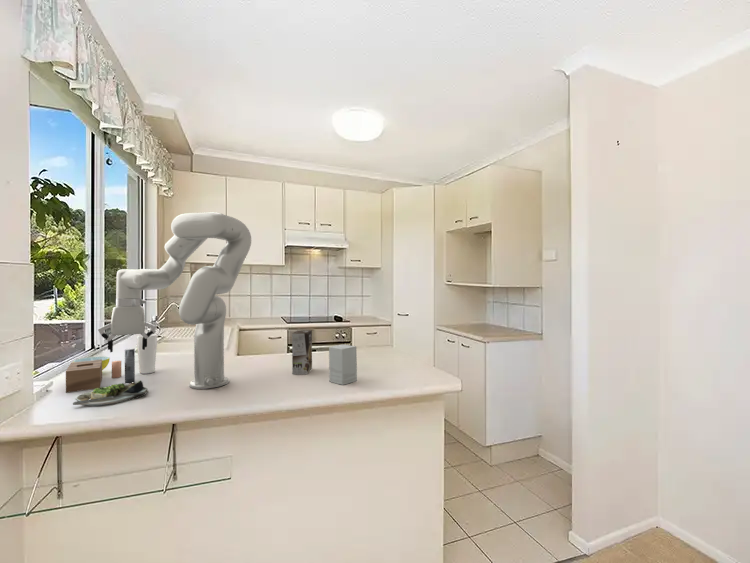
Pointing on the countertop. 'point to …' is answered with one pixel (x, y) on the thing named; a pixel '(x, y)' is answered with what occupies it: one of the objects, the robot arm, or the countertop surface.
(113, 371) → the short pin
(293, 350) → the coffee box
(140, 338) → the drinking glass
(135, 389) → the salad plate
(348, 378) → the supplement box
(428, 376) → the countertop surface
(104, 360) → the bowl
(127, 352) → the long pin
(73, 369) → the brown slotted box
